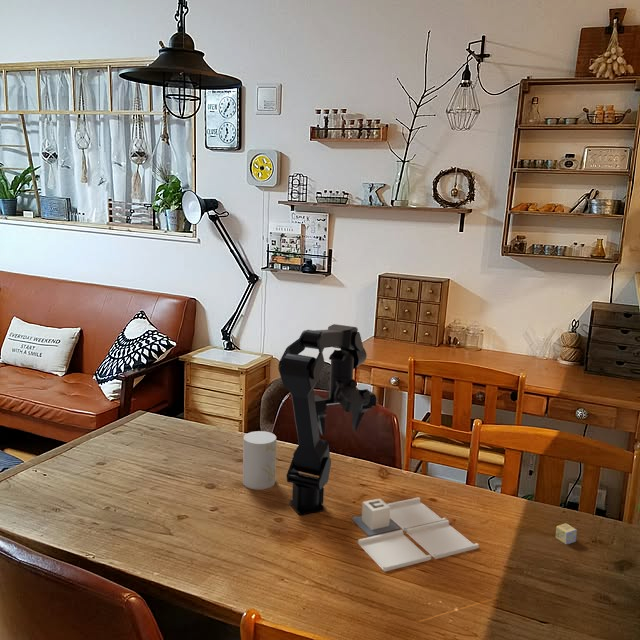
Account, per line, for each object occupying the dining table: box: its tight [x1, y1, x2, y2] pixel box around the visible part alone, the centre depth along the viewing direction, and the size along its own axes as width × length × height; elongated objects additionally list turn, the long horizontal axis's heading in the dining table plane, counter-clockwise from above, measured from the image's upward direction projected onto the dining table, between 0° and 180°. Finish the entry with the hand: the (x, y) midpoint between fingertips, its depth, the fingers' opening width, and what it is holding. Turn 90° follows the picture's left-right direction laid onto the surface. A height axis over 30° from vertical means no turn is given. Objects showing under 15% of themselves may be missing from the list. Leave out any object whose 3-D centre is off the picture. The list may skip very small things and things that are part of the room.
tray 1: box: [386, 496, 447, 533], centre depth 148 cm, size 11×11×1 cm
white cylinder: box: [242, 430, 277, 490], centre depth 161 cm, size 8×8×12 cm
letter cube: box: [361, 497, 391, 530], centre depth 144 cm, size 4×4×5 cm
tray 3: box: [405, 519, 480, 560], centre depth 138 cm, size 11×11×1 cm
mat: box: [350, 515, 401, 537], centre depth 144 cm, size 8×8×1 cm
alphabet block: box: [555, 523, 578, 546], centre depth 141 cm, size 3×3×3 cm
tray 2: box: [357, 529, 432, 572], centre depth 133 cm, size 11×11×1 cm
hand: (338, 432), depth 165 cm, fingers open, 9 cm apart
